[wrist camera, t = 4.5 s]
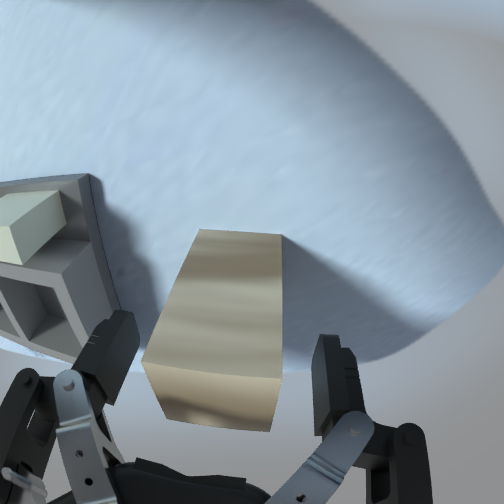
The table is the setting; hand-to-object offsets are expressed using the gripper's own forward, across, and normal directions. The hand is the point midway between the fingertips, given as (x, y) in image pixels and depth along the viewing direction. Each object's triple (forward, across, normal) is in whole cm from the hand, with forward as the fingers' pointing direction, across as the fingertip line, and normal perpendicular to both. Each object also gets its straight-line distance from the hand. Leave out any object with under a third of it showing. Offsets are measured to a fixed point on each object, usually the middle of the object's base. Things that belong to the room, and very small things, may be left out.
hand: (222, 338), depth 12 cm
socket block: (+4, +15, 0) cm, 16 cm away
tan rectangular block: (+4, 0, -1) cm, 5 cm away
